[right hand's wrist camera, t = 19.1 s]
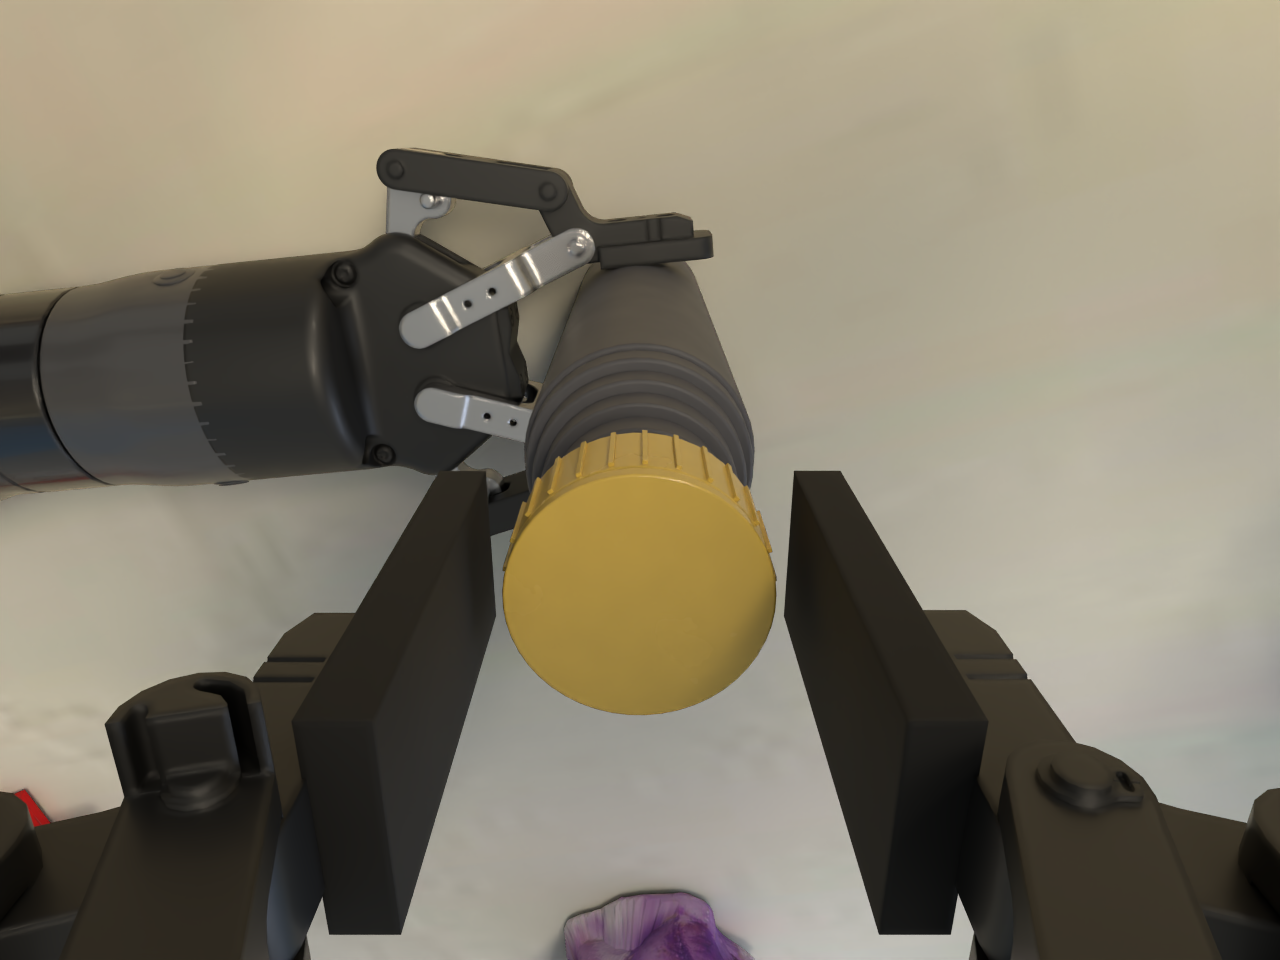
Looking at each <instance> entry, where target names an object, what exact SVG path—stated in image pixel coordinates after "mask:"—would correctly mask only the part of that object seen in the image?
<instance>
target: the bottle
mask: <svg viewBox="0 0 1280 960" xmlns="http://www.w3.org/2000/svg"><path fill="white" fill-rule="evenodd" d="M642 430H647V431H648V433H654V434H661V435H667V436H671V437H673V435H674V434H675V435H678V436H679V439H682V440H684V441H687V442H689V443H692V444H694V445H697V446H699V447H700V448H702V446H705V447H706V448H707V450H708V452H709V453H711V454H712V455H713V456H715V457H716V458H717V459H719V460H720V461H721V462H723V463H724V464H725V465H726V464H727V463H728V464H730V465H731V467H732V471H733V473H734V474H735V475H736V477H737V478H738V479H739V481H740V482H741V483H742V485H743V486H746V485H747V486H748V487H749V489H750V487H751V482H752V478H753V465H754V437H753V432H752V427H751V422H750V420H749V417H748V414H747V412H746V409H745V406H744V404H743V401H742V398H741V396H740V393H739V391H738V388H737V385H736V383H735V380H734V378H733V375H732V372H731V370H730V367H729V364H728V362H727V359H726V357H725V354H724V351H723V349H722V346H721V344H720V341H719V338H718V336H717V333H716V331H715V328H714V325H713V323H712V320H711V318H710V315H709V312H708V310H707V307H706V305H705V302H704V299H703V297H702V294H701V291H700V289H699V286H698V284H697V281H696V278H695V276H694V274H693V272H692V270H691V269H690V267H689V266H688V265H687V263H686V262H685V261H680V262H670V263H660V264H651V265H641V266H628V267H621V268H612V269H602V270H601V266H600V262H599V263H593V264H592V265H591V266H590V268H589V269H588V271H587V273H586V274H585V277H584V279H583V282H582V284H581V287H580V289H579V292H578V295H577V297H576V300H575V302H574V305H573V308H572V310H571V313H570V315H569V318H568V321H567V323H566V326H565V328H564V331H563V334H562V336H561V339H560V341H559V344H558V346H557V349H556V352H555V354H554V357H553V359H552V362H551V365H550V367H549V370H548V372H547V375H546V378H545V380H544V383H543V385H542V388H541V391H540V393H539V396H538V398H537V401H536V403H535V406H534V409H533V411H532V414H531V416H530V419H529V423H528V427H527V431H526V438H525V464H526V477H527V483H528V488H529V491H530V494H531V492H532V489H533V486H534V482H535V480H536V478H537V477H539V478H540V479H541V478H542V476H543V475H544V474H545V473H546V472H547V471H548V470H549V469H550V468H551V467H552V466H553V465H554V462H555V459H556V458H557V457H560V458H563V457H564V456H565V455H567V454H568V453H570V452H571V451H573V450H575V449H577V448H579V447H580V446H581V443H582V442H584V441H586V443H589V442H592V441H595V440H597V439H600V438H604V437H608V436H610V435H611V433H613V432H616V434H626V433H642Z"/></svg>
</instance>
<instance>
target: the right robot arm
mask: <svg viewBox="0 0 1280 960" xmlns="http://www.w3.org/2000/svg"><path fill="white" fill-rule="evenodd" d="M495 618H496V609H495V594H494V580H493V566H492V551H491V537H490V523H489V508H488V494H487V480H486V471H439V473H438V475H437V476H436V478H435V480H434V481H433V483H432V485H431V486H430V488H429V490H428V492H427V493H426V495H425V497H424V498H423V500H422V502H421V503H420V505H419V507H418V508H417V510H416V512H415V513H414V515H413V517H412V519H411V520H410V522H409V524H408V525H407V527H406V529H405V530H404V532H403V534H402V535H401V537H400V539H399V540H398V542H397V544H396V546H395V547H394V549H393V551H392V552H391V554H390V556H389V557H388V559H387V561H386V562H385V564H384V566H383V567H382V569H381V571H380V572H379V574H378V576H377V578H376V579H375V581H374V583H373V584H372V586H371V588H370V589H369V591H368V593H367V594H366V596H365V598H364V599H363V601H362V603H361V605H360V606H359V608H358V610H357V611H356V613H314V614H312V615H311V616H309V617H308V618H306V619H305V620H304V621H302V622H301V623H299V624H298V625H296V626H295V627H293V628H292V629H290V630H289V631H287V632H286V633H285V634H284V635H283V636H282V638H281V639H280V641H279V642H278V643H277V645H276V646H275V648H274V649H273V650H272V652H271V653H270V655H269V656H268V660H267V662H264V663H263V665H262V666H261V667H260V669H259V670H258V672H257V673H256V674H255V676H254V677H253V679H254V680H253V682H252V681H251V680H250V679H248V678H247V677H245V676H240V675H236V674H232V673H228V672H211V673H196V674H192V675H187V676H183V677H179V678H174V679H170V680H167V681H165V682H162V683H160V684H158V685H155V686H153V687H151V688H148V689H146V690H143V691H141V692H140V693H138V694H137V695H135V696H134V697H132V698H131V699H129V700H128V701H126V702H125V703H124V704H122V705H121V706H119V707H118V708H117V709H116V711H115V712H114V713H113V714H112V716H111V717H110V718H109V719H108V721H107V722H106V723H105V728H106V731H107V735H108V739H109V742H110V746H111V749H112V753H113V757H114V760H115V764H116V768H117V771H118V775H119V779H120V782H121V786H122V790H123V793H124V799H123V802H122V804H121V806H120V807H117V808H113V809H110V810H106V811H103V812H99V813H95V814H90V815H85V816H81V817H76V818H72V819H67V820H62V821H58V822H53V823H49V824H44V825H39V826H35V827H34V825H33V822H32V819H31V816H30V813H29V810H28V807H27V804H26V803H25V802H23V801H22V800H21V799H20V798H18V797H17V796H16V795H15V794H13V793H6V792H0V960H311V958H310V951H309V946H308V941H307V932H308V930H309V927H310V925H311V922H312V920H313V918H314V915H315V913H316V910H317V908H318V906H319V903H320V901H321V898H322V897H323V902H324V908H325V913H326V919H327V925H328V930H329V935H401V933H402V929H403V926H404V923H405V919H406V916H407V913H408V909H409V906H410V902H411V899H412V896H413V892H414V889H415V886H416V882H417V879H418V876H419V872H420V869H421V866H422V862H423V859H424V856H425V852H426V849H427V845H428V842H429V839H430V835H431V832H432V829H433V825H434V822H435V819H436V815H437V812H438V809H439V805H440V802H441V799H442V795H443V792H444V788H445V785H446V782H447V778H448V775H449V772H450V768H451V765H452V762H453V758H454V755H455V752H456V748H457V745H458V742H459V738H460V735H461V732H462V728H463V725H464V721H465V718H466V715H467V711H468V708H469V705H470V701H471V698H472V695H473V691H474V688H475V685H476V681H477V678H478V675H479V671H480V668H481V664H482V661H483V658H484V654H485V651H486V648H487V644H488V641H489V638H490V634H491V631H492V628H493V624H494V621H495ZM784 618H785V621H786V624H787V628H788V631H789V634H790V638H791V641H792V644H793V648H794V651H795V654H796V658H797V661H798V664H799V668H800V671H801V674H802V678H803V681H804V685H805V688H806V691H807V695H808V698H809V701H810V705H811V708H812V711H813V715H814V718H815V721H816V725H817V728H818V731H819V735H820V738H821V742H822V745H823V748H824V752H825V755H826V758H827V762H828V765H829V768H830V772H831V775H832V778H833V782H834V785H835V788H836V792H837V795H838V799H839V802H840V805H841V809H842V812H843V815H844V819H845V822H846V825H847V829H848V832H849V835H850V839H851V842H852V845H853V849H854V852H855V856H856V859H857V862H858V866H859V869H860V872H861V876H862V879H863V882H864V886H865V889H866V892H867V896H868V899H869V902H870V906H871V909H872V912H873V916H874V919H875V923H876V926H877V929H878V933H879V935H951V930H952V925H953V919H954V913H955V908H956V902H957V897H958V894H959V897H960V899H961V901H962V904H963V906H964V909H965V911H966V913H967V916H968V918H969V920H970V923H971V925H972V928H973V930H974V935H973V941H972V946H971V951H970V956H969V960H1280V788H1277V789H1270V790H1267V791H1266V792H1264V793H1263V794H1262V795H1261V796H1259V797H1258V798H1257V799H1256V800H1254V804H1253V807H1252V810H1251V813H1250V816H1249V819H1248V822H1247V823H1244V822H1239V821H1235V820H1230V819H1225V818H1221V817H1216V816H1212V815H1207V814H1202V813H1198V812H1193V811H1189V810H1184V809H1180V808H1176V807H1173V806H1169V805H1166V804H1162V803H1159V802H1158V800H1157V798H1156V796H1155V794H1154V793H1153V791H1152V790H1151V788H1150V787H1149V786H1148V784H1147V783H1146V781H1145V780H1144V778H1143V777H1142V776H1141V775H1139V774H1138V773H1137V772H1135V771H1134V770H1133V769H1132V768H1130V767H1129V766H1128V765H1126V764H1125V763H1124V762H1123V761H1121V760H1119V759H1117V758H1115V757H1113V756H1111V755H1109V754H1107V753H1105V752H1103V751H1100V750H1098V749H1096V748H1094V747H1090V746H1086V745H1082V744H1078V743H1076V742H1075V740H1074V739H1073V738H1072V736H1071V735H1070V734H1069V732H1068V731H1067V729H1066V728H1065V727H1064V725H1063V724H1062V722H1061V721H1060V720H1059V718H1058V717H1057V715H1056V714H1055V713H1054V711H1053V710H1052V708H1051V707H1050V706H1049V704H1048V703H1047V701H1046V700H1045V699H1044V697H1043V696H1042V694H1041V693H1040V692H1039V690H1038V689H1037V687H1036V686H1035V685H1034V683H1033V682H1032V680H1031V679H1027V673H1026V672H1025V671H1024V669H1023V668H1022V666H1021V665H1020V664H1019V662H1018V661H1017V659H1013V654H1012V652H1011V651H1010V650H1009V648H1008V647H1007V645H1006V644H1005V643H1004V641H1003V640H1002V638H1001V637H1000V636H999V634H998V633H997V631H996V630H994V629H993V628H991V627H990V626H988V625H987V624H985V623H984V622H982V621H981V620H979V619H978V618H977V617H975V616H974V615H972V614H971V613H969V612H968V611H966V610H922V608H921V606H920V605H919V603H918V601H917V599H916V598H915V596H914V594H913V593H912V591H911V589H910V588H909V586H908V584H907V583H906V581H905V579H904V578H903V576H902V574H901V572H900V571H899V569H898V567H897V566H896V564H895V562H894V561H893V559H892V557H891V556H890V554H889V552H888V551H887V549H886V547H885V545H884V544H883V542H882V540H881V539H880V537H879V535H878V534H877V532H876V530H875V529H874V527H873V525H872V524H871V522H870V520H869V519H868V517H867V515H866V513H865V512H864V510H863V508H862V507H861V505H860V503H859V502H858V500H857V498H856V497H855V495H854V493H853V492H852V490H851V488H850V486H849V485H848V483H847V481H846V480H845V478H844V476H843V475H842V473H841V471H794V480H793V494H792V509H791V523H790V537H789V552H788V566H787V580H786V595H785V609H784Z"/></svg>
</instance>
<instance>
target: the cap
mask: <svg viewBox="0 0 1280 960" xmlns="http://www.w3.org/2000/svg"><path fill="white" fill-rule="evenodd" d="M510 542H511V543H510V546H509V549H508V553H507V556H506V559H505V562H504V565H503V571H505V573H504V580H503V589H502V595H503V609H504V614H505V619H506V624H507V626H508V629H509V632H510V635H511V638H512V639H513V641H514V643H515V645H516V647H517V649H518V651H519V653H520V654H521V655H522V657H523V658H524V660H525V661H526V662H527V664H528V665H529V666H530V667H531V668H532V670H533V671H534V672H535V673H536V674H537V675H538V676H539V677H540V678H541V679H543V680H544V681H545V682H546V683H547V684H548V685H550V686H551V687H552V688H554V689H555V690H557V691H558V692H560V693H561V694H563V695H565V696H566V697H568V698H570V699H572V700H574V701H576V702H578V703H581V704H583V705H586V706H589V707H592V708H595V709H598V710H603V711H607V712H611V713H618V714H626V715H651V714H662V713H667V712H672V711H677V710H680V709H684V708H687V707H690V706H693V705H695V704H698V703H700V702H702V701H704V700H706V699H709V698H711V697H712V696H714V695H715V694H717V693H719V692H720V691H722V690H724V689H725V688H726V687H728V686H729V685H730V684H731V683H733V682H734V681H735V680H736V679H737V678H738V677H739V676H740V675H741V674H742V673H743V672H744V671H745V670H746V669H747V668H748V667H749V666H750V664H751V663H752V662H753V661H754V659H755V658H756V657H757V655H758V654H759V652H760V650H761V648H762V646H763V645H764V643H765V641H766V639H767V636H768V634H769V631H770V629H771V626H772V622H773V617H774V613H775V605H776V582H775V581H777V579H776V574H775V570H774V567H773V564H772V561H771V557H770V554H769V553H770V552H772V549H771V545H770V542H769V539H768V536H767V533H766V530H765V526H764V523H763V520H762V517H761V514H760V511H756V509H755V506H754V502H753V499H752V496H751V493H750V489H749V487H748V486H747V485H746V486H743V485H742V483H741V482H740V481H739V479H738V478H737V477H736V475H735V474H734V473H733V471H732V467H731V465H730V464H728V463H727V464H726V465H725V464H724V463H723V462H721V461H720V460H719V459H717V458H716V457H715V456H713V455H712V454H711V453H709V452H708V450H707V448H706V447H705V446H702V448H700V447H699V446H697V445H694V444H692V443H689V442H687V441H684V440H682V439H679V436H678V435H675V434H674V435H673V437H671V436H667V435H661V434H654V433H648V431H647V430H642V433H626V434H616V432H613V433H611V435H610V436H608V437H604V438H600V439H597V440H595V441H592V442H589V443H586V441H584V442H582V443H581V446H580V447H579V448H577V449H575V450H573V451H571V452H570V453H568V454H567V455H565V456H564V457H563V458H560V457H557V458H556V459H555V462H554V465H553V466H552V467H551V468H550V469H549V470H548V471H547V472H546V473H545V474H544V475H543V476H542V478H541V479H540V478H539V477H537V478H536V480H535V482H534V486H533V489H532V492H531V494H530V496H529V498H528V500H527V503H526V502H522V505H521V508H520V511H519V514H518V517H517V520H516V523H515V526H514V529H513V533H512V536H511V539H510Z"/></svg>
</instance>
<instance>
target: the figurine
mask: <svg viewBox="0 0 1280 960" xmlns="http://www.w3.org/2000/svg"><path fill="white" fill-rule="evenodd" d="M564 935H565V938H566V939H565V941H566V943H565V945H566V946H565V947H566V952H567V953H566V956H567V959H568V960H755V959H754V958H753V957H752V956H751V955H750V954H749V953H748V952H747V951H745V950H744V949H743V948H742V947H740V946H739V945H737V944H736V943H734V942H732V941H731V940H729V939H728V938H727V937H725V936H724V935H723V934H722V933H721V932H720V931H719V930H718V929H717V927H716V926H715V920H714V915H713V911H712V909H711V908H710V906H709V905H708V904H707V903H706V902H705V901H704V900H701V899H699V898H697V897H695V896H693V895H691V894H688V893H683V892H679V893H669V894H641V895H635V896H629V897H620V898H619V899H617V900H616V901H613V902H611V903H609V904H607V905H606V906H603V907H602V908H601V909H597V910H595V911H592V912H587V913H585V914H579V915H577V916H575V917H573V918H570V919H569V920H568V921H567V923H566V925H565V928H564Z"/></svg>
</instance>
